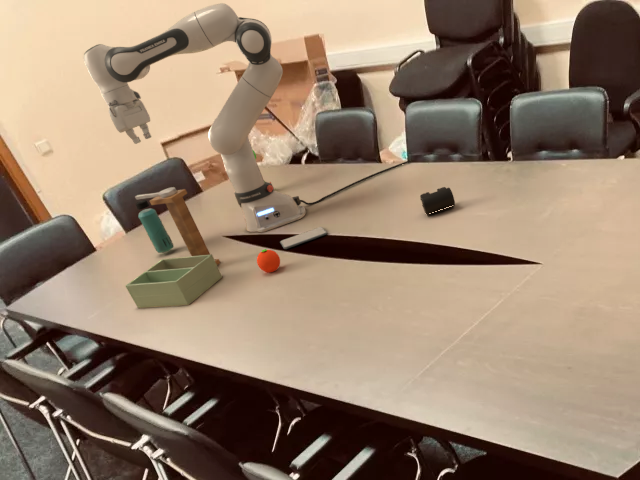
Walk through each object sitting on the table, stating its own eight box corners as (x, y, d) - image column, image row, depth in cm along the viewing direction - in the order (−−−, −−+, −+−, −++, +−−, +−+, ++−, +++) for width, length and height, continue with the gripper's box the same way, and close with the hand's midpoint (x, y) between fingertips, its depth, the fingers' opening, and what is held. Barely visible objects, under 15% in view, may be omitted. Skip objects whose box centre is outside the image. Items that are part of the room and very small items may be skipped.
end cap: (428, 219, 231) (422, 199, 227) (423, 213, 237) (417, 193, 233) (457, 209, 232) (451, 189, 229) (451, 203, 238) (446, 184, 234)
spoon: (132, 202, 228) (129, 198, 227) (142, 195, 232) (140, 191, 231) (169, 197, 222) (167, 192, 222) (180, 190, 226) (178, 186, 226)
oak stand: (186, 274, 238) (149, 200, 224) (199, 264, 244) (163, 192, 230) (208, 272, 235) (171, 197, 221) (220, 262, 241) (185, 189, 227)
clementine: (260, 270, 226) (251, 249, 222) (281, 262, 228) (273, 242, 224) (263, 278, 220) (253, 257, 216) (285, 270, 221) (276, 249, 217)
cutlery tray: (138, 308, 223) (125, 285, 218) (174, 280, 236) (162, 258, 232) (188, 305, 215) (176, 281, 211) (222, 276, 229) (211, 254, 225)
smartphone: (327, 232, 239) (283, 247, 235) (328, 235, 240) (285, 250, 236) (321, 226, 246) (279, 241, 242) (322, 228, 246) (280, 243, 243)
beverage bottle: (170, 255, 259) (143, 203, 248) (155, 257, 261) (127, 206, 250) (179, 247, 264) (153, 196, 254) (165, 250, 266) (138, 199, 255)
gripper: (115, 99, 224) (140, 142, 230) (140, 92, 242) (162, 132, 248) (97, 106, 225) (122, 149, 231) (124, 99, 243) (146, 138, 249)
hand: (143, 140), depth 240 cm, fingers open, 8 cm apart
